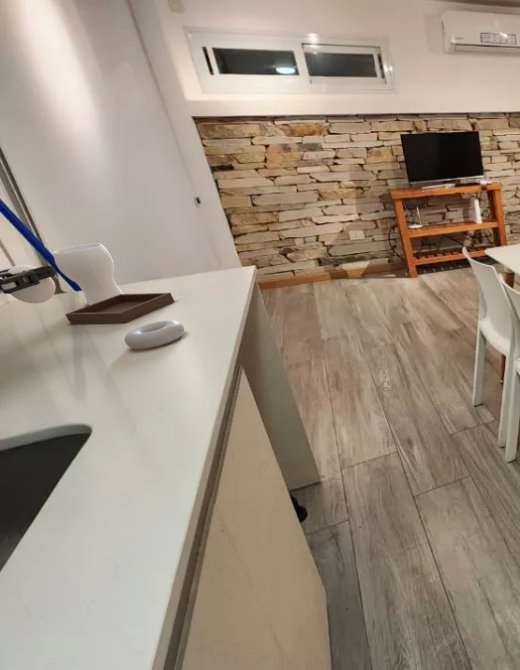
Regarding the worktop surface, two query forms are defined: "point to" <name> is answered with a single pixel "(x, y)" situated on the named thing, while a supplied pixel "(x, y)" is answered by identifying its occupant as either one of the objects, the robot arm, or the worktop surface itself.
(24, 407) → the worktop surface
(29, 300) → the egg
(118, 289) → the cup
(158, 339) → the donut
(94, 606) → the worktop surface
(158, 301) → the tray
